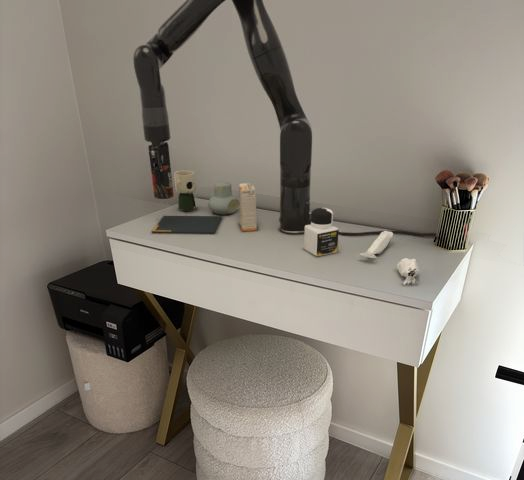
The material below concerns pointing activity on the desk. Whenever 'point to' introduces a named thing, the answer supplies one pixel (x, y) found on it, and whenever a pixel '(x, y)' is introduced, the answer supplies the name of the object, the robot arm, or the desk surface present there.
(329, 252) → the medicine bottle
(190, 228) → the mat
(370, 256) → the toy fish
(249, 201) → the supplement box
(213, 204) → the grey green rounded piece
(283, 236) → the desk surface
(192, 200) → the character mug
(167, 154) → the deodorant
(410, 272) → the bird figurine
